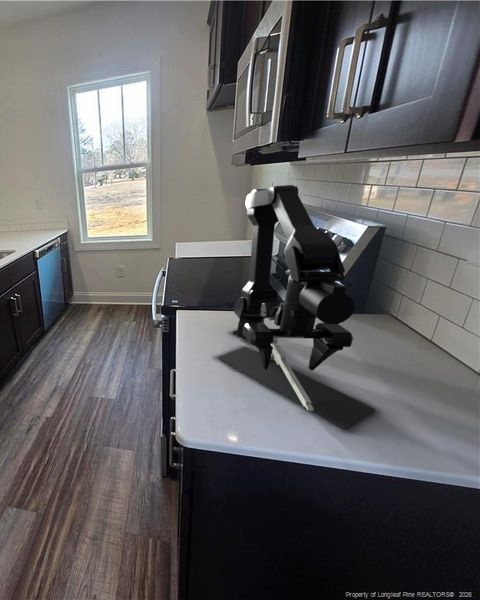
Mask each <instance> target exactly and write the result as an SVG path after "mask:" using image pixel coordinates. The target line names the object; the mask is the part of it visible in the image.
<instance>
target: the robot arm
mask: <svg viewBox="0 0 480 600" xmlns="http://www.w3.org/2000/svg"><path fill="white" fill-rule="evenodd" d="M245 208H246V216H247V218H248V219H249V221H250V223H251V225H252V237H251V238H252V239H251V250H250V252H251V253H250V264H249V276H248V277H249V279H248V282H247V283H246V284H245V285H244V287H243V288H242V290H241V295H240V297H239V298H238V299H237V301H236V302H235V303H234V305H233V313H234V314H235V315H236V317H237V318H238V323H237V329H236V330H233V331H232V334H233V335H236V336H237V337H239V338H242V339H244V340H247V342H248V343H249V344H250V345H251V346H254V347H255V348H256V349H258V353H260V356H261V360H262V364H263V367H264V369H265V370H267V368H268V366H269V363H270V359H271V355H272V351H273V347H272V346H271V344H272V343H273V339H274V338H276V339H312V342H313V346H312V350H311V353H310V357H309V361H308V369H309V370H310V371H314V370H315V369H317V368H318V367H319V366H320V365H321V364H322V363H324V362H325V361H326V360H327V359H328V358H330V357H331V356H332V355H334V354H336V353H337V352H338V351H343V350H344V348H351V346H352V345H353V340H354V337H353V334H352V333H351V331H350V330H348V329H347V328H345V327H344V326H342V325H340V324H341V323H344V322H346V321H347V320H349V318H351V317H352V315H353V314H354V312H355V310H356V305H355V301H354V298H353V297H352V296H350V295H349V294H347V293H346V291H347V286H346V285H344V284H342V283H338V282H344V281H345V280H346V278H345V273H346V269H345V267H344V263H343V261H342V257H341V253H340V249H339V247H338V245H337V244H336V242H335V241H334V240H333V238H332V237H331V236H330V234H328V233H327V232H325V231H323V230H321V229H319V228H317V227H316V225H314V223H313V220H312V219H311V217H310V215H309V212H308V211H307V209H306V207H305V205H304V203H303V201H302V199H301V197H300V196H299V187H298V186H296V185H293V184H285V185H274V186H273V187H272V186H271V187H269V188H268V187H267V188H253V190H252V191H250V193H248V194H247V195H246V198H245ZM278 222H279V224H280V226H281V229H282V231H283V233H284V236H285V238H286V241H287V244H286V245H285V248H284V250H283V253H284V261H285V263H286V266H287V268H288V269H287V270H286V271H285V275H286V276H288V280H287V281H288V282H287V286H286V291H285V297H284V301H281V302H280V304H279V306H278V299H277V297H278V291H277V289H274V287H273V285H272V283H271V273H272V272H271V271H272V263H273V249H274V238H275V228H276V224H277V223H278ZM328 270H329V271H328ZM265 319H268V321H270V322H271V321H273V324H274V325H275V326H276V327H277V326H278V327H279V328H270V327H268V326H267V324H266V323H265ZM317 319H318V320H319V321H320V322H318V323H317V324H316V320H317Z"/></svg>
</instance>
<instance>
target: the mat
mask: <svg viewBox="0 0 480 600" xmlns="http://www.w3.org/2000/svg"><path fill="white" fill-rule="evenodd" d="M217 359H218V360H220V361H221V362H223V363H225V364H227V365H229V366H231V367H232V368H234V369H236V370H237V371H240V372H241V373H243V374H244V375H246V376H248V377H250V378H252V379H254V380H256V381H257V382H259V383H261V384H263V385H264V386H266V387H268V388H269V389H271V390H273V391H275V392H277V393H278V394H280V395H282V396H284V397H286V398H287V399H289V400H290V401H291V400H292V401H293V402H294V403H297V404H298V405H300V406H301V407H303V408H305V409H306V407H304V406H303V405H302V403H301V401H300V399H299V398H298V396H297V394H296V392H295V391H294V389H293V387H292V385H291V384H290V382H289V380H288V378H287V377H286V375H285V373H284V372H283V370H282V368H281V366H280V365H277V363H276V361H275V359H273V360H270V363H269V366H268V368H267V370H265V369H264V367H263V364H262V360H261V356H260V352H259V351H258V352H257V351H256V350H253V349H252V348H250V347H247V346H243V347H241V348H237V349H235V350H233V351H230V352H227V353H225V354H221V355H219V356H218V357H217ZM291 370H292V371H293V373H294V374H295V376H296V378H297V379H298V381H299V383H300V384H301V386H302V387H303V389H304V391H305V392H306V394H307V396H308V397H309V399H310V401H311V405H312V407H313V410H314V411H311V412H312V413H314V414H316V415H318V416H319V417H321V418H323V419H325V420H327V421H328V422H330V423H332V424H333V425H336V426H337V427H339V428H341V429H342V430H343V431H345V430H347V429H349V428H350V427H352V426H353V425H355V424H356V423H358V422H359V421H361V420H362V419H364V418H365V417H367V416H369V415H370V414H372V413H373V412H374V411H375V410H376V408H374V407H372V406H370V405H368V404H366V403H364V402H362V401H361V400H357V399H355V398H354V397H351V396H350V395H347V394H345V393H343V392H341V391H339V390H336V389H335V388H333V387H330V386H329V385H326V384H324V383H322V382H320V381H319V380H316V379H314V378H311V377H310V376H307V375H306V374H303V373H301V372H299V371H298V370H295V369H293V368H291Z"/></svg>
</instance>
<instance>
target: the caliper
mask: <svg viewBox="0 0 480 600" xmlns="http://www.w3.org/2000/svg"><path fill="white" fill-rule="evenodd" d="M278 341H279V339H277V338H274V339H273V343H272V344H271V346H272V347H273V351H272V355H271V359H270V360H274V361H276V363H277V365H280V366H281V368H282V370H283V372H284V373H285V375H286V377H287V378H288V380H289V382H290V384H291V385H292V387H293V389H294V391H295V392H296V394H297V396H298V398H299V399H300V401H301V403H302V405H303V406H304V407H303V406H302V405H301V406H302V407H303V408H305V407H306V408H305V409H306V411H308V412H309V411H311V412H312V411H314V410H313V407H312V405H311V401H310V399H309V397H308V396H307V394H306V392H305V391H304V389H303V387H302V386H301V384H300V383H299V381H298V379H297V378H296V376H295V374H294V373H293V371H292V370H291V369H292V368H291V366H290V365H289V362H288V361H287V360H286V356H285V354H284V353H283V350H282V349H281V347H280V346H279V344H277V343H278Z"/></svg>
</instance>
